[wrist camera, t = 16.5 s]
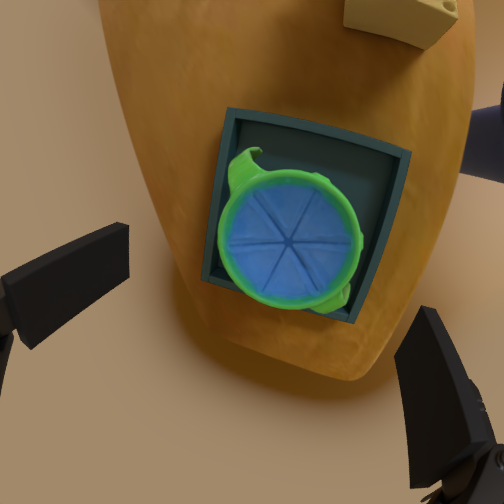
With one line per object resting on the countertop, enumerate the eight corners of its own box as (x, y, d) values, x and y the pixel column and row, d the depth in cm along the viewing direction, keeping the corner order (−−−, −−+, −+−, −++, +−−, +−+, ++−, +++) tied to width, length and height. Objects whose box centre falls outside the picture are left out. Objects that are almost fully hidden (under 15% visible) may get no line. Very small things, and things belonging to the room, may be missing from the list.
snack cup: (222, 173, 29) (175, 184, 20) (309, 125, 25) (300, 109, 16) (289, 294, 32) (272, 349, 23) (374, 259, 28) (392, 308, 19)
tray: (402, 151, 24) (412, 151, 21) (352, 308, 32) (354, 324, 28) (237, 111, 27) (227, 107, 24) (211, 268, 35) (200, 280, 31)
